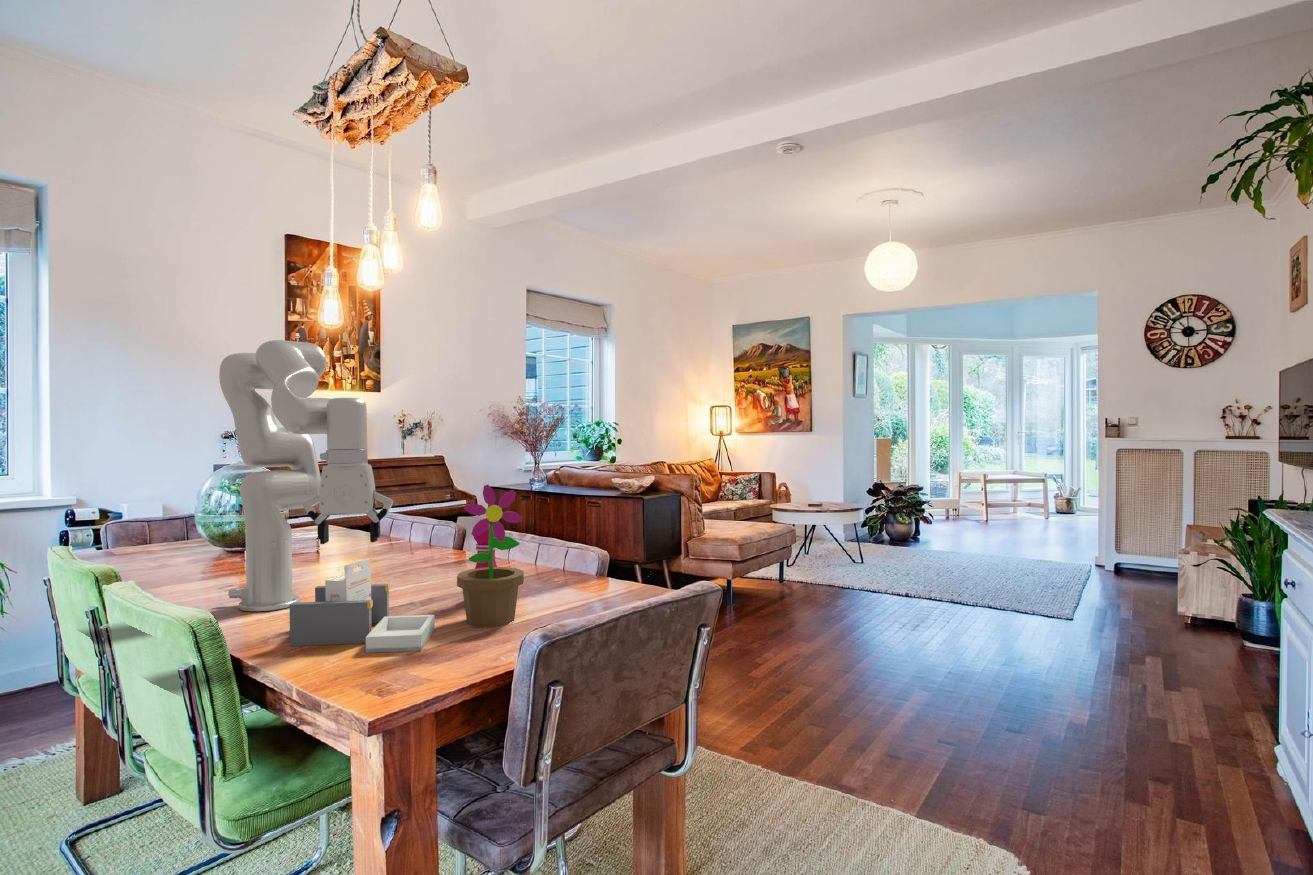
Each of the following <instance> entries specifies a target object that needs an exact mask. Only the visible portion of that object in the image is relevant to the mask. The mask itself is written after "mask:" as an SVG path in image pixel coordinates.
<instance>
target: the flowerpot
mask: <svg viewBox="0 0 1313 875" xmlns="http://www.w3.org/2000/svg"><path fill="white" fill-rule="evenodd" d="M495 495H496V494H495V490H494V489H493V488H492V487H491V486H490V485H489V484H484V485H483V489H482V498H483V499H484V503H486V504H487V505H488V506H487V508H486V507H484V506H483V505H482V504H479V503H473V502H472V503H468V504H465V505H464V508H463V510H464V511H466V512H467V513H469V514H470V515H473V516H474V515H475V516H484V515H485V517H486V518H485V517H484V518H485V519H483V518H482V519H480V520H478V521H477V522H476V523H475V524H474V525H473V527H472V531H471V532H470V534H471V535H472V537H473V538H474V537H476V536H478V535H481V534H482V533H483V532H484V531H485V530H486V529H487V528H488V526H489V524H490V526H489V553H483V552H482V553H475V554H473V555H471V556H469V557H468V561H469V562H473V563H476V564H477V563H483V562H486V561H488V560H489V567H485V568H477V569H475V568H471V569H468V570H464V571H461V572H459V573H458V574H457V576H456V587H458V588H460V589H462V596H463V604H464V611H465V617H466V618H465V619H466V624H468V625H470V626H471V625H472V626H471V627H476V626H477V627H478V628H497V627H496V626H498V627H502V626H501V625H503V626H507V625H509V623H510V622H512V621H514V622H515V619H516V618H515V617H516V612H517V610H516V609H517V600H518V594H519V586H522V585H524V582H525V580H524V579H525V577H524V576H525V574H524V573H525V572H524V571H525V570H523V569H519V568H516V567H509V566H507V567H505V566H497V567H493V547H494V548H497V549H496V550H501V551H506V550H512V549H514V548H515V547H518V546H520V542H519V541H518V540H517V539H515V538H514V537H512V536H508V535H506V530H505V527H504V526H505V525H503V523H501V521H500V519H503V520H504V521H505V522H508V523H511V524H517V523H520V522H523V519H524V517H523V516H522V515H521V514H519V513H518V512H515V511H510V510H507V511H504V512H503V510H502V509H507V508H508V507H509V506H510V505H511V504H512V503H513V502H514V501H515V498H516V495H517V492H516V491H515V490H510V491H508V492H506V493H505V494H503V495H502V496H501V497H500V499H499V501H498V504H495V503H496V499H497V498H496V496H495ZM493 532H494V536H495V538H493ZM512 623H513V622H512ZM510 624H511V623H510Z"/></svg>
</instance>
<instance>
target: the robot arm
mask: <svg viewBox="0 0 1313 875" xmlns="http://www.w3.org/2000/svg"><path fill="white" fill-rule="evenodd" d="M326 357H327V356H326V354H325V352H324V350H322V348H321V347H320V346H319V345H317V344H315V343H312V342H305V341H293V340H285V339H284V340H283V339H273V340H272V339H271V340H268V341H266V342H263V343H262V344H260V345H259V346H258V348H257V349H256V352H236V353H232V354H229V355H227V356H226V357H224V358H223V359H222V361H221V362H220V366H219V374H218V375H219V376H218V378H219V384H220V389H221V392H222V394H223V397H224V399H225V401H226V403H227V405H228V408H229V409H230V411H231V414H232V417H233V422H234V428H235V434H236V438H237V444H238V449H239V454H240V457H241V459H242V462H243V463H244V465H246V466H247V467H250V468H281V467H289V468H290V469H278V470H277V469H276V470H275V469H274V470H262V471H256V472H253V473H249V474H248V475H247V476H245V477H243V479H242V481H241V482H240V486H239V495H240V500H241V505H242V510H243V516H244V528H245V529H244V533H245V581H246V582H245V583H246V584H245V587H243V588H230V589H228V593H227V594H228V598H229V599H240V600H241V601H239V603H238V608H239V610H240V611H245V612H268V611H276V610H281V609H286V608H290V604H292V603H299V602H300V600H301V598H300V596H299V595H297V594H293V551H292V550H293V547H292V546H293V545H292V544H293V541H292V540H293V539H292V538H293V537H292V534H293V533H292V532H293V531H292V528H291V525H290V523H289V521H288V520H287V519H286V518H285V516H283V515H282V513H281V512H282V511H287V510H299V509H305V512H306V513H307V516H308V517H309V518H310V519H312V521H313V522H314V524H315V525H317V539H318V540H319V544H320V545H324V544H326V543H327V544H328V542H329V540H330V535H329V532H330V531H329V530H330V529H329V525H330V524H329V523H328V522H327V520H328V519H329V518H330V517H331V516H345V515H346V516H350V515H353V516H354V515H366V516H367V517H368V518H369V519H370V520H371V522H370V523H369V537H370V538H369V539H370V540H369V542H370V543H376V542H377V541H378V538H380V537H381V521H382V520H383V518H385V517H386V515H388V514H389V512H390V509H392V506H393V505H394V499H391V498H390V497H387V495H386V496H385V495H384V494H381V493H379V492H377V491H376V483H375V477H374V472H373V471H374V470H373V468H372V465H371V464H369V462H368V460H369V459H368V456H369V455H368V421H367V420H368V418H367V417H368V416H367V414H368V413H367V404H366V401H365V400H364V399H362V398H358V397H333V398H328V397H327V398H326V397H310V396H311V395H313V393H314V392H315V391H316V390H317V388H318V386H319V378H321V377H322V376H323V375H324V374H325V372H326V369H327V358H326ZM258 389H259V390H272V391H271V396H270V398H271V399H270V401H271V404H270V403H268V401H267V400H266V399H265V398H264V397H263V396H262V395H261V394H260V393H258V392H257V391H256V390H258ZM275 418H276V419H277V421H278V422H279V423H280V424H281V426H283V427H280V426H278V424H277V423H276V419H275ZM311 435H326V446H327V447H326V448H327V449H326V450H325V452H324V453H323V452H322V453H320V454H319V459H320V460H321V461H325V463H326V464H327V465H323V466H322V468H321V472H320V467H319V462H318V457H317V452H316V448H315V444H314V441H313V439H312V436H311ZM377 501H378V502H380V503H382V504H383V505H382V506H383V507H382V508H381V509H380V511H377V510H376V508H377ZM317 505H318V508H319V509H318V510H319V512H318V511H317V510H316V509H315V508H314V506H317Z"/></svg>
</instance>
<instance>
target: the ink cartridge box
mask: <svg viewBox="0 0 1313 875" xmlns="http://www.w3.org/2000/svg"><path fill="white" fill-rule="evenodd" d="M357 567H361V569H357V570H355V571H354V569H356V568H357ZM343 569H344V573H342V574H340V575H338V576H335V577H331V578H327V579H325V580H324V586H325V595H326V602H329V601H360V600H371V584H372V573H371V565H370V558H364V559H360V560H357V561H355V562H352V563H349V564H346V565H344V567H343ZM371 613H372V612H371ZM372 624H373V623H372V615H371V627H372Z"/></svg>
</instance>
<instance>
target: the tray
mask: <svg viewBox="0 0 1313 875" xmlns="http://www.w3.org/2000/svg"><path fill="white" fill-rule="evenodd" d="M435 620H436V616H435V614H423V615H422V614H421V615H420V614H418V615H416V614H415V615H414V614H413V615H396V616H395V615H391V616H390V615H389V616H386V617H384V618H383V619H382V620H381V621H380V622H379V623H376V625H375V626H374V628H373V629H371V632H370V633H369V634H368V635H367V636H366V643H365V654H375V653H376V654H378V653H379V654H380V653H397V652H398V653H399V652H400V653H401V652H419V651H420V652H421V651H423V650H424V647H425V646H426V644H427V642H428V641H429V639H430V638H431V636H432V634H433V633H434V631H435V630H436V628H435V627H436V626H435V624H436V623H435V622H436V621H435Z"/></svg>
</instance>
